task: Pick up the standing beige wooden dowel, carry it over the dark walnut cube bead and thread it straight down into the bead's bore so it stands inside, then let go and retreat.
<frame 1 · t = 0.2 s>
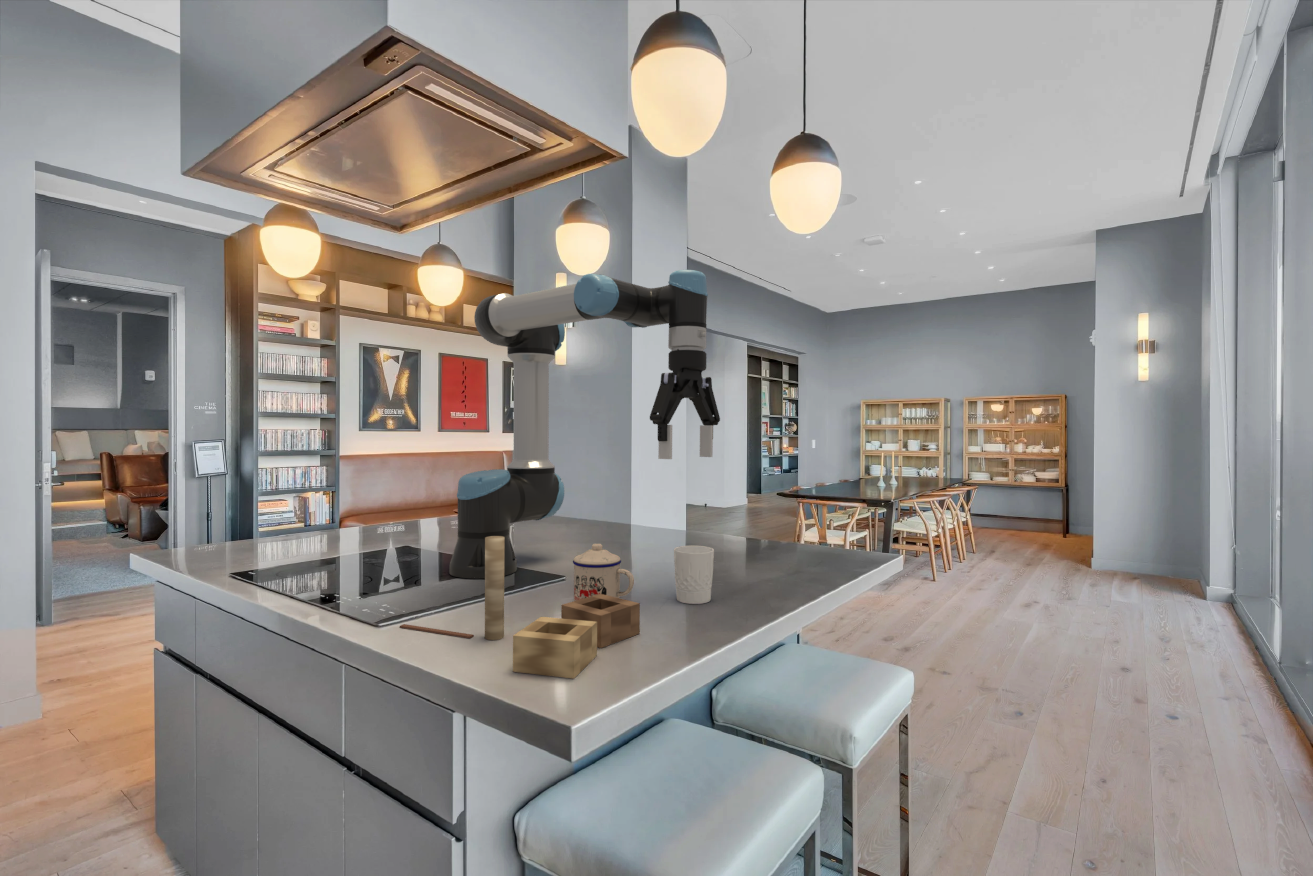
hand: (686, 458, 124), 28 cm above the countertop, fingers open, 13 cm apart
teacup with lid: (603, 607, 118), on the countertop
beige wooden dowel: (494, 637, 100), on the countertop
light wooden square frame: (556, 663, 89), on the countertop
white cup: (693, 600, 123), on the countertop
brown wooden stick: (435, 632, 103), on the countertop
bead dark: (600, 634, 102), on the countertop
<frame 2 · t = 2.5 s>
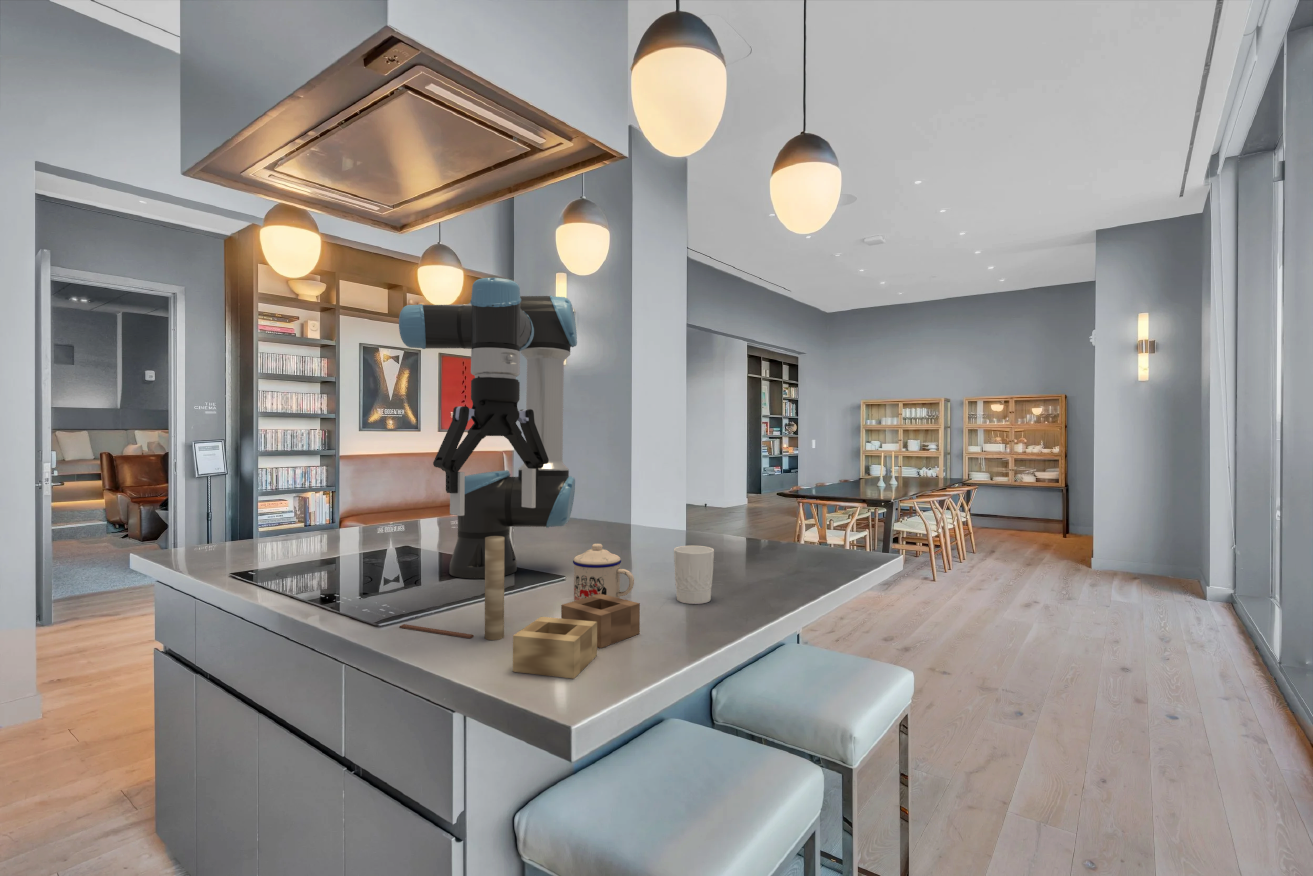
hand: (494, 511, 100), 20 cm above the countertop, fingers open, 13 cm apart
nothing on the countertop moved.
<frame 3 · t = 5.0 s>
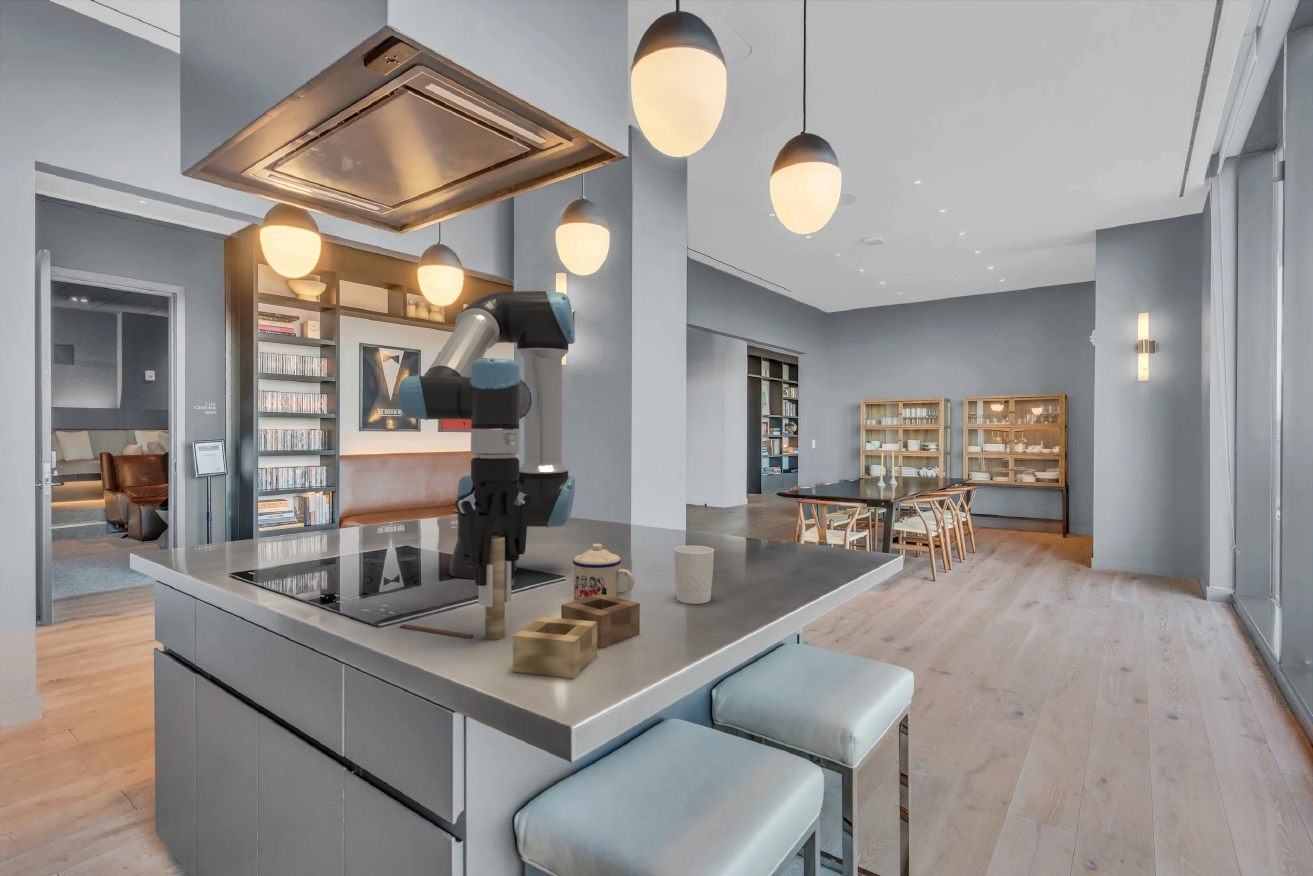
hand: (494, 602, 100), 6 cm above the countertop, fingers closed on beige wooden dowel, 3 cm apart
beige wooden dowel: (495, 636, 100), on the countertop, touching gripper
everything else where it was.
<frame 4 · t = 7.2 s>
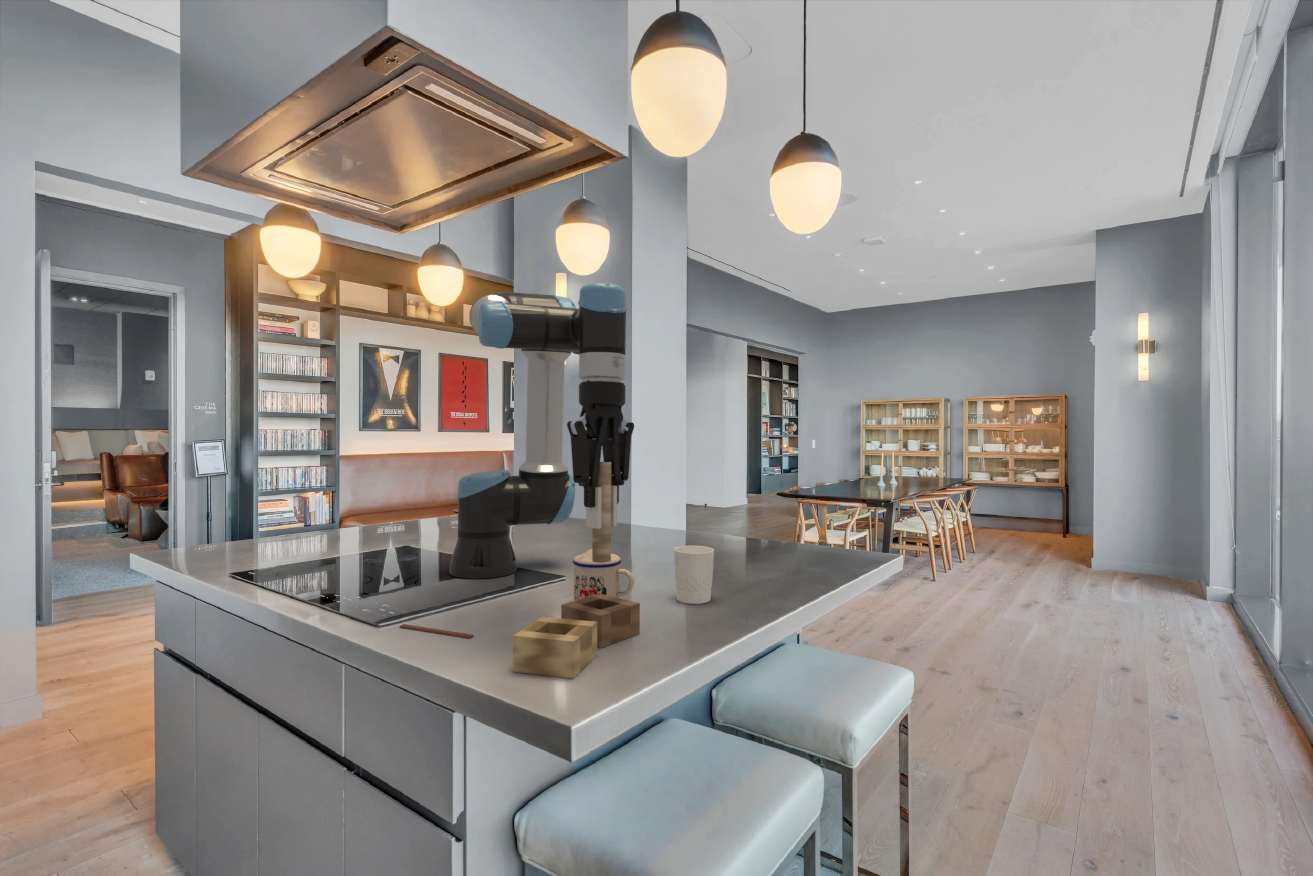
hand: (601, 526, 101), 18 cm above the countertop, fingers closed on beige wooden dowel, 3 cm apart
beige wooden dowel: (601, 560, 101), point 12 cm above the countertop, touching gripper
everything else where it was.
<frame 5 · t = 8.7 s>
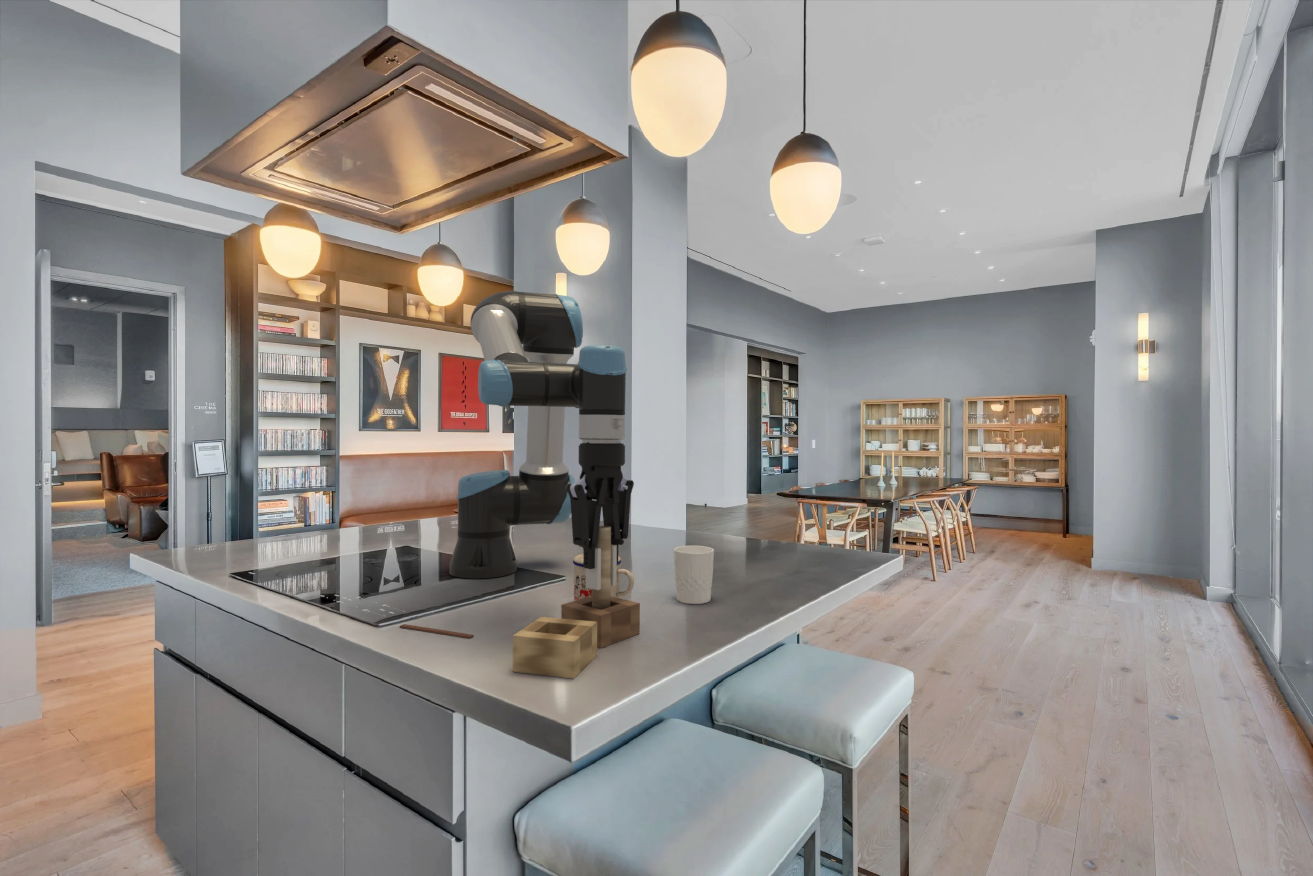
hand: (601, 585, 102), 8 cm above the countertop, fingers closed on beige wooden dowel, 3 cm apart
beige wooden dowel: (601, 625, 102), point 2 cm above the countertop, touching gripper
everything else where it was.
when the fingers open (7 cm above the countertop, at t = 9.8 s): beige wooden dowel stays where it is, resting in bead dark.
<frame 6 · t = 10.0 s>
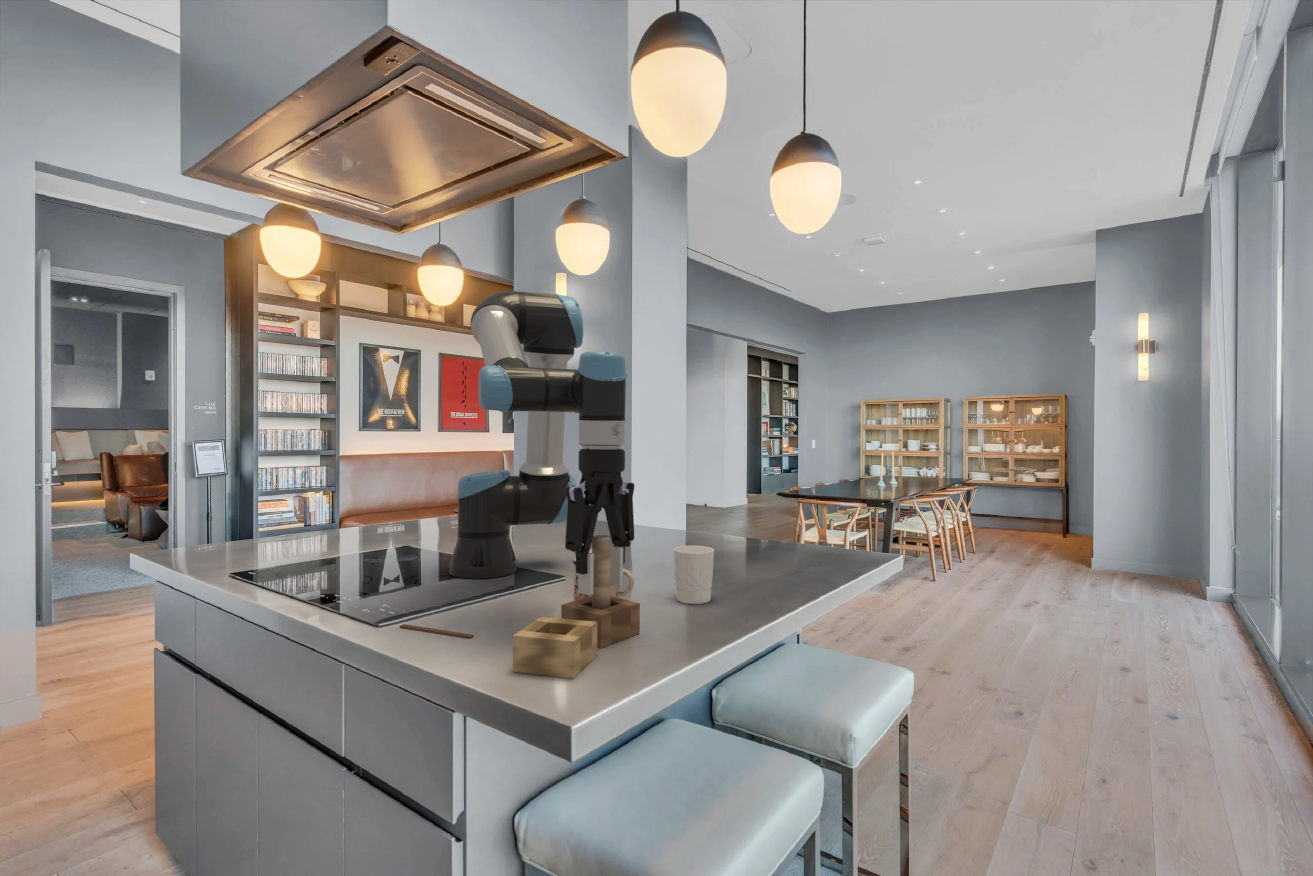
hand: (600, 589, 102), 7 cm above the countertop, fingers open, 6 cm apart
beige wooden dowel: (601, 634, 102), resting in bead dark
everything else where it was.
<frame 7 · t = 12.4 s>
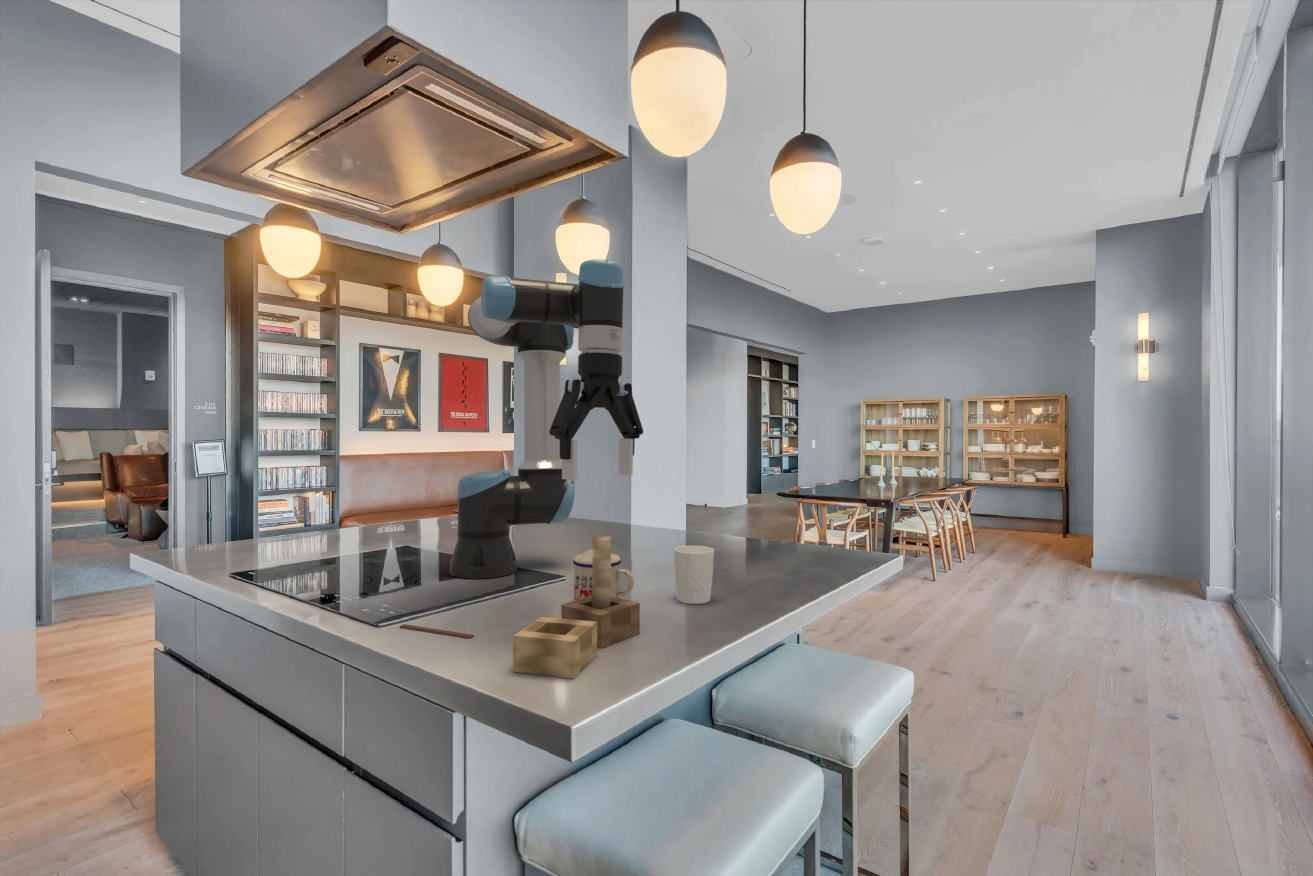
hand: (598, 477, 108), 25 cm above the countertop, fingers open, 13 cm apart
nothing on the countertop moved.
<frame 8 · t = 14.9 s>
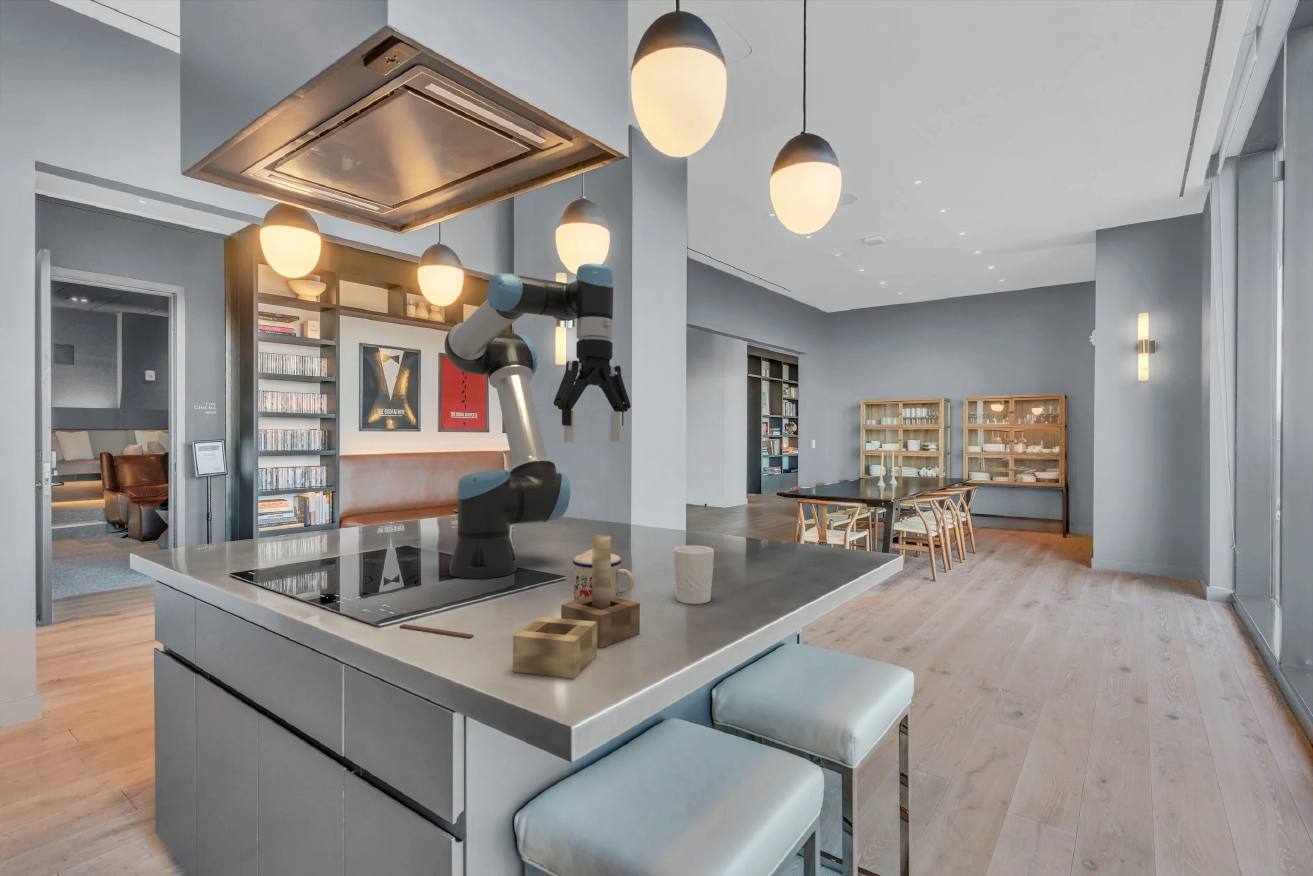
hand: (593, 442, 131), 31 cm above the countertop, fingers open, 13 cm apart
nothing on the countertop moved.
at the end: beige wooden dowel 0.1 cm off-centre on the bead dark, point 0.0 cm above the bead dark's base; beige wooden dowel tilted 0°; the gripper is holding nothing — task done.
